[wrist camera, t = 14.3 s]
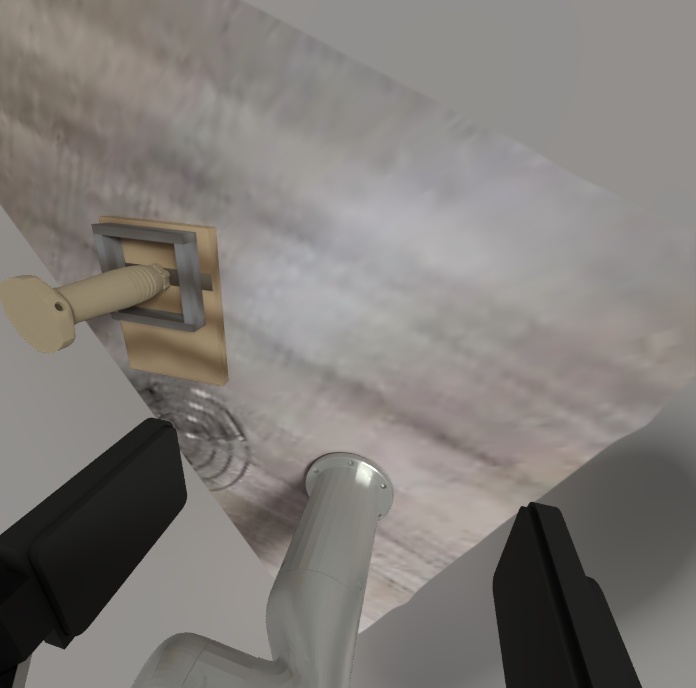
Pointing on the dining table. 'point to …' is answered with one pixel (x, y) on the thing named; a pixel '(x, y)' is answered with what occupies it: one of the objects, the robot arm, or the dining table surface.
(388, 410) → the dining table surface
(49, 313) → the handle
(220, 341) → the subfloor panel
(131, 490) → the robot arm
